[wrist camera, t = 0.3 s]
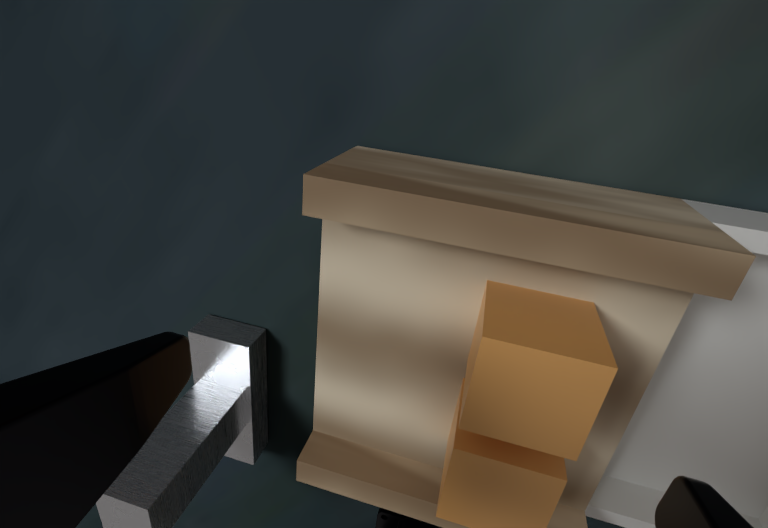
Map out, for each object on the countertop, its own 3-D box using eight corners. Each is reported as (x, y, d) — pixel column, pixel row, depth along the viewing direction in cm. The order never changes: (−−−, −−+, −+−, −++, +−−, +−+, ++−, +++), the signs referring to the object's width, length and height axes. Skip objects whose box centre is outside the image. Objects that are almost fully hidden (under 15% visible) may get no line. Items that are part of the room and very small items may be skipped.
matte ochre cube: (531, 464, 20) (536, 549, 17) (447, 440, 21) (435, 516, 17) (555, 401, 18) (567, 480, 15) (463, 377, 19) (453, 448, 15)
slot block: (565, 464, 25) (581, 572, 19) (337, 399, 27) (296, 480, 22) (680, 198, 17) (756, 256, 12) (357, 145, 20) (303, 173, 15)
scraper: (268, 442, 31) (173, 592, 22) (219, 427, 32) (108, 566, 23) (265, 328, 26) (146, 460, 18) (208, 314, 27) (65, 433, 18)
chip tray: (759, 518, 23) (792, 577, 20) (565, 464, 25) (572, 511, 22) (976, 247, 16) (1072, 284, 13) (680, 198, 17) (711, 222, 15)
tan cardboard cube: (562, 383, 18) (576, 461, 14) (467, 359, 19) (458, 428, 15) (593, 302, 16) (618, 368, 13) (487, 279, 17) (482, 336, 13)
